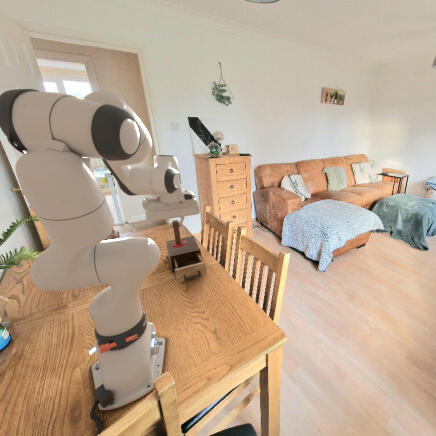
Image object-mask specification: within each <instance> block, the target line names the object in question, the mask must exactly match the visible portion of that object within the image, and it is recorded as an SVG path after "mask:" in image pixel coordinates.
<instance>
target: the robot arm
mask: <svg viewBox="0 0 436 436" xmlns="http://www.w3.org/2000/svg"><path fill="white" fill-rule="evenodd" d="M142 121H143V120H141V119H140V117H139V116H138V115H137V113H136V112H135V111H134V110H133V109H132V108H131V107H130V106H129V105H128V104H127V102H125V100H124V99H122V98H121V97H120V96H119V95H116V94H115V93H112V92H110V91H105V90H98V91H97V90H96V91H93V92H90V93H87V94H86V95H85V96H83V98H81V97H78V96H75V95H71V94H68V93H67V94H66V93H59V92H51V91H40V90H37V89H34V88H17V89H16V88H15V89H9V90H5V91H3V92H2V93H1V94H0V129H1V131H2V133H3V134H4V136H5V137H6V139H7V142H8V143H9V144H10V145H11V147H12V148H13V149H15V150H16V151H18V152H19V153H20V154H22V155H21V156H19V158H18V159H16V162H15V165H14V166H15V167H14V169H15V173H16V178H17V181H18V183H19V187H20V189H21V191H22V193H23V195H24V198H25V199H26V201H27V203H28V205H29V207H30V209H31V210H32V211H33V213H34V215H35V216H36V218H37V219H38V221H39V222H40V224H41V226H42V227H43V228H44V231H45V232H46V234H47V236H48V239H49V245H48V247H47V248H46V249H45V250H43V251H42V252H40V253H39V254H38V255H36V257H35V259H34V260H33V262H32V264H31V266H30V271H29V273H30V278H31V281H32V282H33V284H34V285H35V286H36V287H37V288H38V289H40V291H43V292H47V293H48V292H49V293H50V292H70V291H71V292H72V291H76V290H82V289H86V288H87V289H88V288H92V287H97V286H103V285H108V286H106V287H105V288H104V289H102V290H100V291H99V292H98V293H97V294H96V295H95V296H94V297H93V298H92V300H91V301H90V304H89V308H88V312H89V315H90V318H91V320H92V324H93V326H94V337H95V340H96V341H95V342H94V343H93V345H94V347H93V348H92V349H90V350H89V351H88V353H89V355H92V354H93V353H94V352H96V353H97V355H96V356H97V359H98V360H97V361H95V362H94V363H93V365H92V366H91V372H92V377H93V384H94V390H92V392H91V393H92V396H93V397H94V399H95V400H94V403H93V405H92V407H91V409H90V413H89V415H90V416H89V417H90V419H91V420H92V421H93V422H95V425H96V432H97V433H96V434H97V435H98V434H100V433H101V432H102V431H103V432H104V429H103V424H102V419H101V417H100V416H99V415H98V414H96V410H97V409H99V410H100V411H111V410H114V409H118V408H121V407H124V406H125V405H128V404H130V403H133V402H135V401H137V400H138V399H140V398H143V397H144V396H145V395H147V394H148V393H150V392H151V391H153V390H154V389H155V388H154V386H153V384H152V383H153V381H154V380H155V379H156V378H158V377H159V376H160V375H161V374H162V375H163V367H164V359H165V349H166V339H165V338H164V337H161V336H160V337H158V334H157V331H156V328H155V324H154V323H153V322H150V321H149V320H147V314H146V312H145V310H144V308H143V307H142V302H141V296H140V295H141V294H140V291H141V287H142V285H143V283H144V281H145V280H146V279H147V278H148V277H149V276H150V275H152V273H154V272H155V271H156V270H157V268H158V267H159V265H160V262H161V257H162V255H161V250H160V247H159V246H158V244H157V243H156V241H154V240H153V239H152V238H150V237H143V236H142V237H141V236H128V237H120V238H119V239H112V240H104V239H105V238H106V237H107V236H108V235H109V234H110V233H111V231H112V229H113V230H114V226H115V219H114V216H113V214H112V212H111V209H110V206H109V203H108V201H107V198H106V196H105V194H104V191H103V189H102V187H101V184H100V183H99V181H98V179H97V177H96V176H95V174H94V173H93V171H92V170H91V159H100V160H102V162H103V164H104V165H105V167H106V169H108V171H109V172H110V174H111V175H112V177H113V178H114V179H115V181H116V183H117V185H118V187H119V189H120V190H121V191H122V192H123V193H124V194H126V195H127V196H130V197H133V196H146V195H147V196H149V195H151V196H154V195H155V196H154V197H146V198H145V199H143V200H142V203H141V204H142V208H143V209H144V211H145V219H146V221H147V222H149V223H150V222H157V221H165V223H166V224H167V225H168V228H169V229H173V223H172V222H171V221H170V219H176V218H180V220H179V221H178V224H179V228H180V227H183V222H184V220H185V217H189V216H196V215H199V214H200V212H201V209H200V205H199V202H198V200H197V199H196V194H195V193H194V192H193V191H192V190H189V189H183V186H182V181H181V178H182V177H181V171H180V166H179V163H178V160H177V157H176V156H174V155H172V154H171V155H170V154H157V155H154V156H153V167H152V166H151V167H146V166H144V167H143V166H139V167H138V166H132V165H137V164H140V163H142V162H144V161H145V160H146V159H147V158H148V157H149V156H150V154H151V152H152V150H153V140H152V137H151V134H150V133H149V130H148V129H147V127H146V126H145V125H144V123H143V122H142ZM130 165H131V166H130ZM156 195H158V196H156ZM103 240H104V241H103Z"/></svg>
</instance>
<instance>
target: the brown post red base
mask: <svg viewBox="0 0 436 436" xmlns="http://www.w3.org/2000/svg"><path fill="white" fill-rule="evenodd" d="M178 222H179V220H178V219H174V220H172V222H171V223H173V228H172V229H173V234H174V240H175V241H174V242H172V247H175V248H178V247H182V246H184V245H185V244H186V242H185V241H184V240H181V238H182V237H181V231H180V227H179V224H178Z"/></svg>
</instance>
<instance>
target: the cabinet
mask: <svg viewBox="0 0 436 436" xmlns="http://www.w3.org/2000/svg"><path fill="white" fill-rule="evenodd" d="M181 240H184V241H185V242H186V244H185V245H184V246H182V247H178V248H175V247H172V242H174V241H175V239H171V240H170V239H169V240H166V241H165V247H166V254H167V258H168V261H169V265H170V269H171V272H172V273H175V267H174V263H173V257H177V256H181V255H186V254H190V253H194V252H198V254H199V256H200V258H201V260H202V251H201V248H200V246H199V244H198V242H197V239H196V238H195V237H194V235H191V236H186V237H181ZM202 261H203V260H202Z"/></svg>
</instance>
